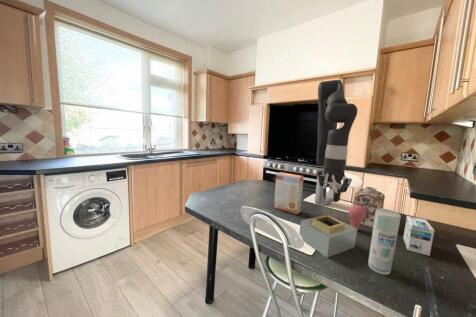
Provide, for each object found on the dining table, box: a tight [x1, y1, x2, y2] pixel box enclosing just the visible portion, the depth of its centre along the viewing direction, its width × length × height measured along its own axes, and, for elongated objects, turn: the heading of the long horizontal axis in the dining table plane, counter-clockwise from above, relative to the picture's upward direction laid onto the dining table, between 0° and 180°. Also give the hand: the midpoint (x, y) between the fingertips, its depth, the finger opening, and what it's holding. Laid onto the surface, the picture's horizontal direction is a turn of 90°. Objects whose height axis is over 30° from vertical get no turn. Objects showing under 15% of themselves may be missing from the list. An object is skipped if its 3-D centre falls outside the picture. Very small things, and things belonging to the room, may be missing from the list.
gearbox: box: [299, 214, 358, 258], centre depth 80 cm, size 16×14×9 cm
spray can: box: [367, 208, 402, 276], centre depth 65 cm, size 6×6×20 cm
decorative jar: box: [352, 186, 386, 229], centre depth 99 cm, size 12×12×18 cm
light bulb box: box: [402, 215, 435, 257], centre depth 79 cm, size 11×7×11 cm, turn 148°
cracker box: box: [273, 171, 304, 216], centre depth 110 cm, size 14×6×21 cm, turn 50°
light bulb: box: [347, 204, 366, 231], centre depth 91 cm, size 7×7×12 cm
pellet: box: [325, 186, 335, 203], centre depth 77 cm, size 4×4×5 cm
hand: (330, 199), depth 77 cm, fingers closed on pellet, 4 cm apart
